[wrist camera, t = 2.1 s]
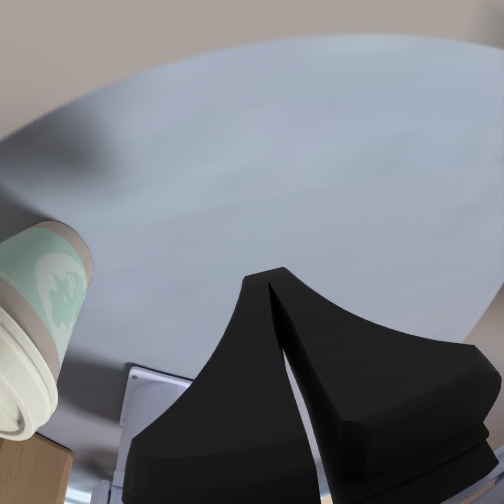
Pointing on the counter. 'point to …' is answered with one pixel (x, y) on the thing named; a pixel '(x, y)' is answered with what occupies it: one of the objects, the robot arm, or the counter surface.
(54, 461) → the wooden block
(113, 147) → the counter surface
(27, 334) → the coffee cup
